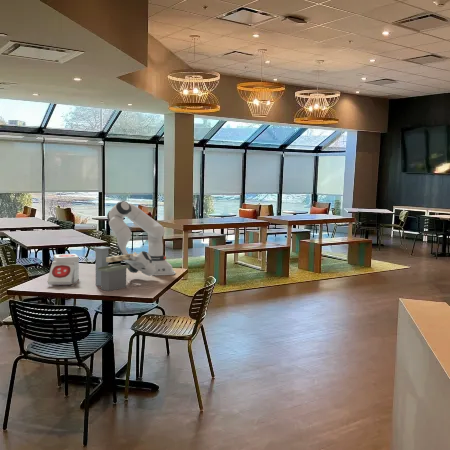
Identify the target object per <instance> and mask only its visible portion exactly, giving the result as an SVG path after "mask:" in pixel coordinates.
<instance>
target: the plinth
mask: <svg viewBox="0 0 450 450" xmlns="http://www.w3.org/2000/svg"><path fill="white" fill-rule="evenodd" d="M93 250H95V286H97V287H98V286H99V287H101V271H98V267H103V266H108V265H109V262H106V257H109V250H111V247H110V246H103V245H101V246H95V247H93Z"/></svg>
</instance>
